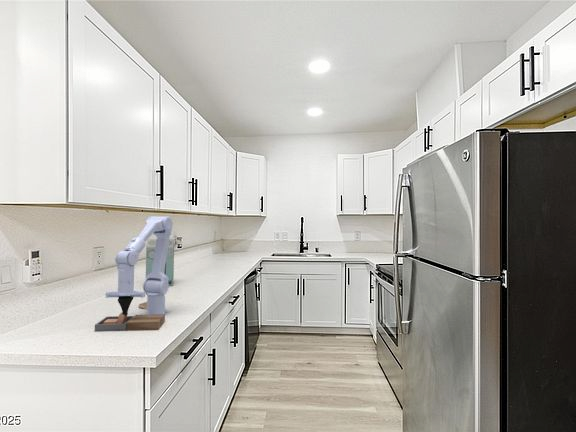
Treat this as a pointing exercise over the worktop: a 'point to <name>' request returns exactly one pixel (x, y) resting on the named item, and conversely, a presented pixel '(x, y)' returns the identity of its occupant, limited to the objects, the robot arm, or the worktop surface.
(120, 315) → the tile
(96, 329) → the box
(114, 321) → the tile
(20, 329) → the worktop surface
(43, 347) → the worktop surface
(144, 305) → the fish fossil
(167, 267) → the device
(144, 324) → the board
